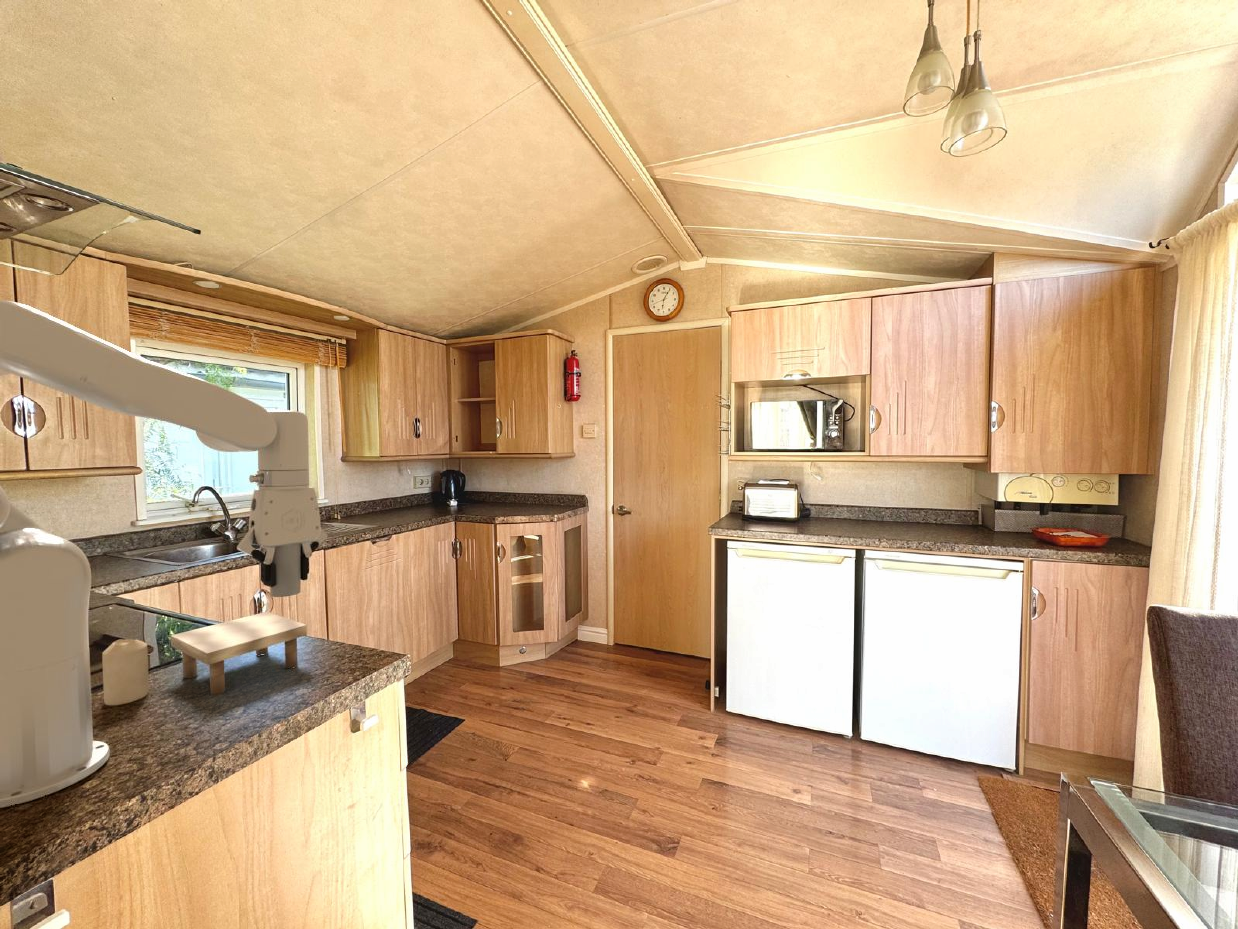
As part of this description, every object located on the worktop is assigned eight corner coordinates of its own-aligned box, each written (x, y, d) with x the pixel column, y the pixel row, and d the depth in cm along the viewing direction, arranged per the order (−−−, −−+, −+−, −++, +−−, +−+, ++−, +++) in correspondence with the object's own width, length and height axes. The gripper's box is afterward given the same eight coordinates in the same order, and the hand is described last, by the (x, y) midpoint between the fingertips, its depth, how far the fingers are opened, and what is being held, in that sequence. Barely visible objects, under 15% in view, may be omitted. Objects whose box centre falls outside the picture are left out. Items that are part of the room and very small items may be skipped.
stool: (208, 700, 86) (207, 653, 86) (172, 678, 94) (170, 635, 94) (307, 665, 99) (306, 625, 99) (268, 648, 108) (267, 611, 108)
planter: (305, 592, 91) (305, 535, 91) (278, 598, 87) (278, 539, 87) (292, 589, 93) (292, 533, 93) (265, 595, 90) (264, 537, 89)
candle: (157, 690, 90) (155, 634, 89) (128, 705, 84) (126, 646, 84) (125, 690, 89) (123, 634, 89) (94, 706, 84) (92, 647, 84)
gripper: (238, 483, 81) (240, 597, 81) (343, 478, 95) (344, 575, 96) (218, 482, 85) (220, 590, 85) (321, 477, 99) (322, 570, 100)
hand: (285, 581), depth 90 cm, fingers closed on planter, 4 cm apart
